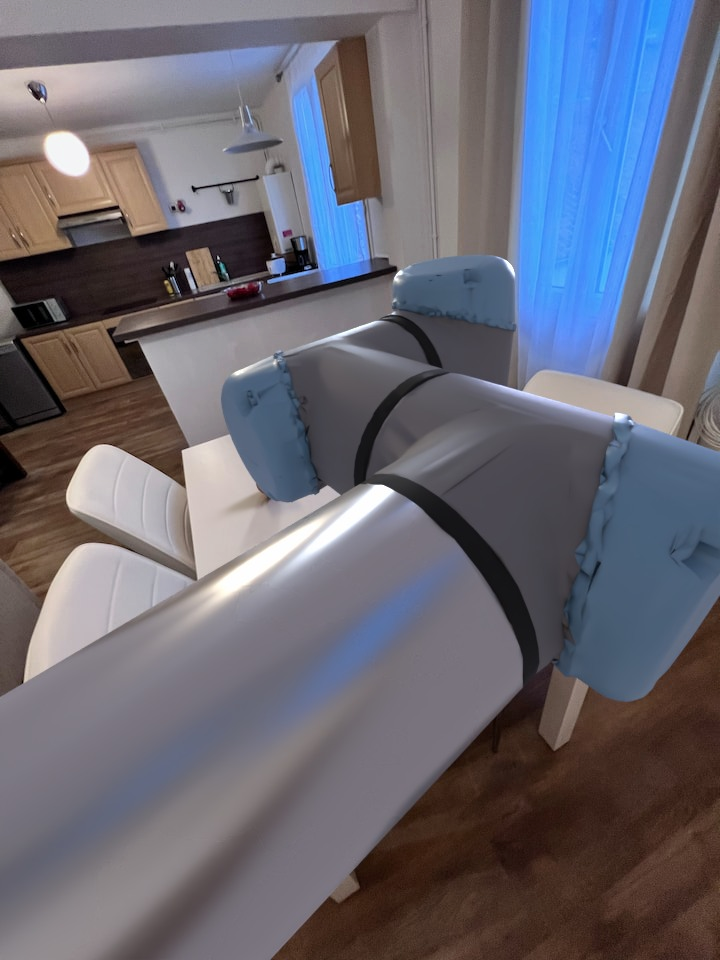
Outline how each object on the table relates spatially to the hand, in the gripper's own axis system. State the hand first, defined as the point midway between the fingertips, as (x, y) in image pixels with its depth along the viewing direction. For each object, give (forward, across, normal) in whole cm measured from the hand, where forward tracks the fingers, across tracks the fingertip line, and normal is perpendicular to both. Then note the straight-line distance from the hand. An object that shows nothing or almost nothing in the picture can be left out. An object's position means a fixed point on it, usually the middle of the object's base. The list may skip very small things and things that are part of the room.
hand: (453, 623), depth 45 cm
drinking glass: (+26, +9, +39) cm, 48 cm away
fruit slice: (+27, +44, +63) cm, 81 cm away
